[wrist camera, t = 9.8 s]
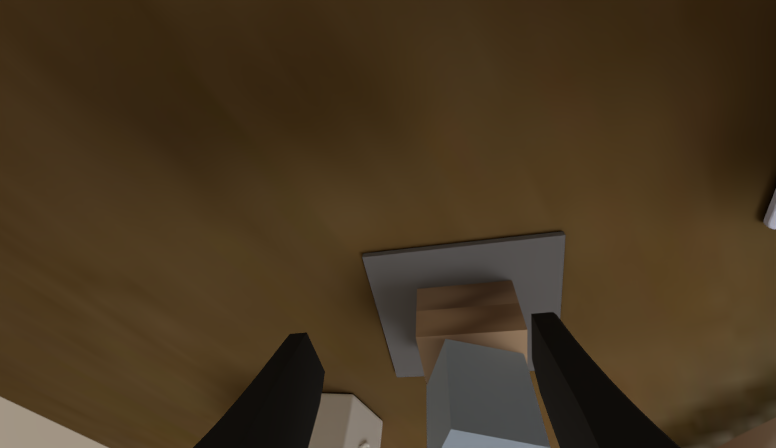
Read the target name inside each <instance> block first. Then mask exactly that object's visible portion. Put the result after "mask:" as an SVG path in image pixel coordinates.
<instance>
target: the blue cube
mask: <svg viewBox="0 0 776 448" xmlns="http://www.w3.org/2000/svg"><path fill="white" fill-rule="evenodd" d="M427 448H550V445H549V441H548V437H547V434H546V430H545V427H544V423H543V420H542V416H541V413H540V409H539V405H538V402H537V398H536V395H535V391H534V388H533V384H532V381H531V377H530V373H529V370H528V366H527V363H526V359H525V356H524V354H522V353H517V352H512V351H507V350H501V349H496V348H491V347H486V346H481V345H475V344H470V343H465V342H460V341H455V340H449V339H445V341H444V344H443V346H442V349H441V351H440V354H439V356H438V359H437V361H436V364H435V366H434V369H433V371H432V374H431V376H430V379H429V382H428V384H427Z"/></svg>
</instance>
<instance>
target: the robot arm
mask: <svg viewBox="0 0 776 448" xmlns="http://www.w3.org/2000/svg"><path fill="white" fill-rule="evenodd" d="M764 224H765V225H766V226H768V227H769V228H771V229H776V190H775V192H774V195H773V197H772V200H771V202H770V205H769V208H768V210H767V213H766V215H765V218H764ZM531 333H532V362H533V366H534V370H535V374H536V378H537V382H538V386H539V390H540V393H541V396H542V399H543V402H544V405H545V407H546V410H547V413H548V416H549V418H550V421H551V424H552V427H553V429H554V432H555V435H556V438H557V440H558V443H559V446H560V448H680V447H679V446H678V445H677V444H676V443H675V442H674V441H672V440H671V439H670V438H669V437H668V436H667V435H666V434H665V433H664V432H663V431H662V430H660V429H659V428H658V427H657V426H656V425H655V424H654V423H653V422H652V421H651V420H650V419H649V418H648V417H647V416H646V415H645V414H644V413H642V412H641V411H640V410H639V409H638V408H637V407H636V406H635V405H634V404H633V403H632V402H631V401H630V400H629V399H628V398H627V397H626V395H625V394H624V393H623V392H622V391H621V390H620V389H619V388H618V387H617V386H616V385H615V384H614V383H613V382H612V381H611V380H610V379H609V378H608V377H607V375H606V374H605V373H604V372H603V371H602V370H601V369H600V368H599V366H598V365H597V364H596V363H595V362H594V361H593V360H592V359H591V357H590V356H589V355H588V354H587V353H586V352H585V350H584V349H583V348H582V347H581V346H580V344H579V343H578V342H577V341H576V340H575V338H574V337H573V336H572V335H571V333H570V332H569V331H568V329H567V328H566V327H565V325H564V324H563V323H562V321H561V320H560V319H559V317H558V316H557V314H555V313H554V312H546V313H534V314H531ZM324 373H325V371H324V369H323V367H322V365H321V362H320V360H319V358H318V356H317V354H316V352H315V349H314V347H313V345H312V343H311V341H310V339H309V337H308V334H307V333H296V334H290V335H289V336H288V337H287V338H286V340H285V341H284V342H283V343H282V345H281V346H280V347H279V348H278V350H277V351H276V352H275V354H274V355H273V356H272V357H271V359H270V360H269V361H268V362H267V364H266V365H265V366H264V368H263V369H262V370H261V371H260V373H259V374H258V375H257V376H256V378H255V379H254V380H253V381H252V383H251V384H250V385H249V386H248V388H247V389H246V390H245V391H244V392H243V394H242V395H241V396H240V397H239V398H238V400H237V401H236V402H235V403H234V404H233V405H232V406H231V408H230V409H229V410H228V411H227V412H226V413H225V414H224V416H223V417H222V418H221V419H220V420H219V421H218V422H217V424H216V425H215V426H214V427H213V428H212V429H211V430H210V431H209V432H208V433H207V434H206V435H205V436H204V437H203V438H202V439H201V440H200V441H199V442H198V443H197V444H196V445H195V446H194V447H193V448H308V447H309V443H310V439H311V436H312V432H313V428H314V425H315V421H316V417H317V413H318V409H319V406H320V401H321V395H322V388H323V381H324Z"/></svg>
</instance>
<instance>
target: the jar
mask: <svg viewBox="0 0 776 448" xmlns="http://www.w3.org/2000/svg"><path fill="white" fill-rule="evenodd" d="M382 424H383V422H382V420H381V419H380V418H379V417H378V416H376V415H375V414H374V413H373V412H372V411H371V410H370V409H369V408H368V407H367V406H365V405H364V404H363V403H362V402H361V401H360V400H359V399H358V398H357V397H355V396H354V395H353V394H331V393H322V395H321V401H320V406H319V409H318V413H317V417H316V421H315V425H314V428H313V432H312V436H311V439H310V443H309V447H308V448H380V444H381V434H382Z"/></svg>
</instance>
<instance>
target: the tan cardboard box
mask: <svg viewBox="0 0 776 448" xmlns="http://www.w3.org/2000/svg"><path fill="white" fill-rule="evenodd" d="M513 303H519V301H518V298H517V295H516V292H515V288H514V285H513V282H512V280H510V281H499V282H488V283H477V284H466V285H455V286H444V287H433V288H422V289H417V307H416V311H426V310H439V309H451V308H463V307H476V306H488V305H501V304H513Z"/></svg>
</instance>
